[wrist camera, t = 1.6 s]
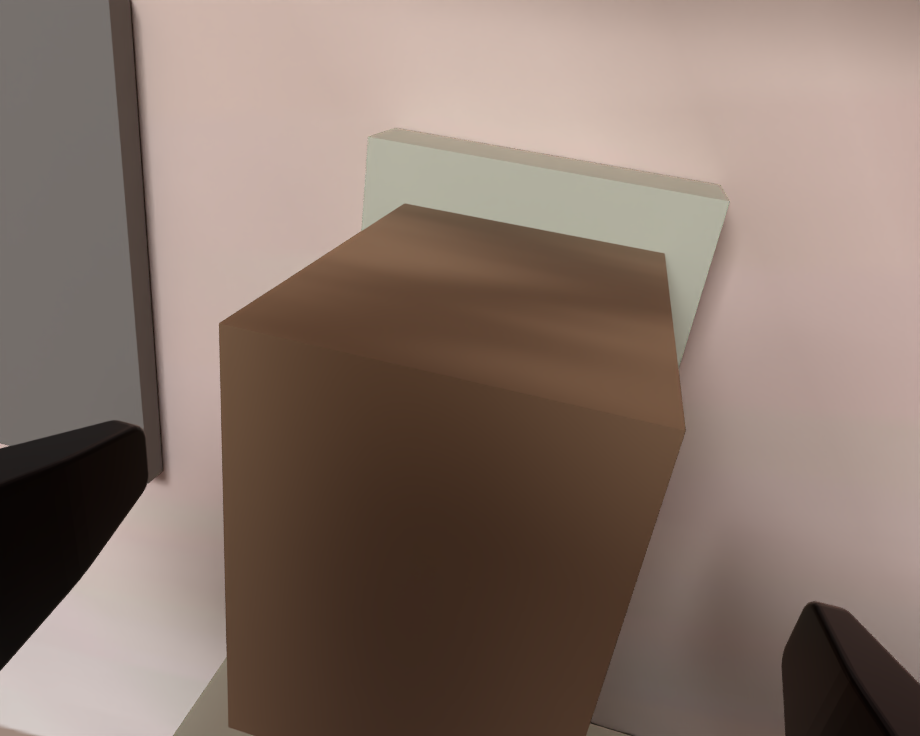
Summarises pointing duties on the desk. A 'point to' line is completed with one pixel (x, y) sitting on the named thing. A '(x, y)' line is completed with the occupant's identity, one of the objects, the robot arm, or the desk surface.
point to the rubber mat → (72, 225)
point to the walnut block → (442, 478)
